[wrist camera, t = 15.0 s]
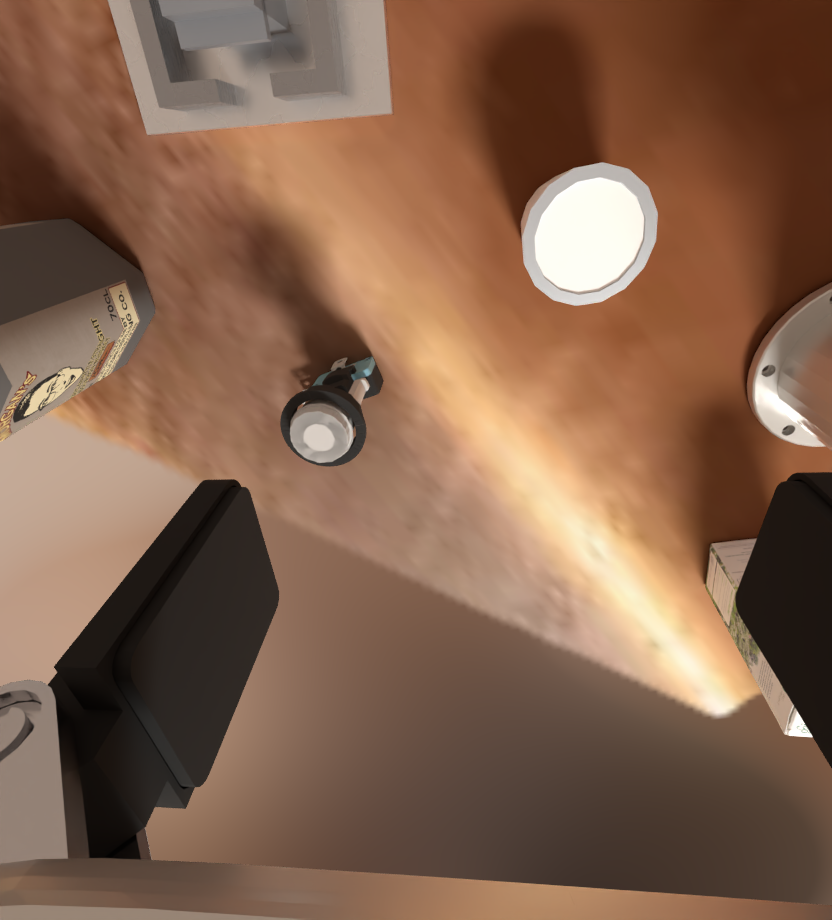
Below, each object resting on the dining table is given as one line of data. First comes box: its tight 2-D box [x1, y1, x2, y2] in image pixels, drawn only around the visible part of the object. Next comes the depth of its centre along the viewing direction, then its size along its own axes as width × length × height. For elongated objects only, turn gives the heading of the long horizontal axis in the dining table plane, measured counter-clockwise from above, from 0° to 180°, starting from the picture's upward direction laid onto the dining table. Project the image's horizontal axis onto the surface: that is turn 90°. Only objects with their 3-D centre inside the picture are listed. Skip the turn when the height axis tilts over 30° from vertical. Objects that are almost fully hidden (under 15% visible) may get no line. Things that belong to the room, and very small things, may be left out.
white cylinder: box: [521, 162, 658, 306], centre depth 29 cm, size 7×7×7 cm
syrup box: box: [705, 538, 813, 737], centre depth 39 cm, size 6×6×14 cm
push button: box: [280, 357, 383, 466], centre depth 34 cm, size 7×5×10 cm
